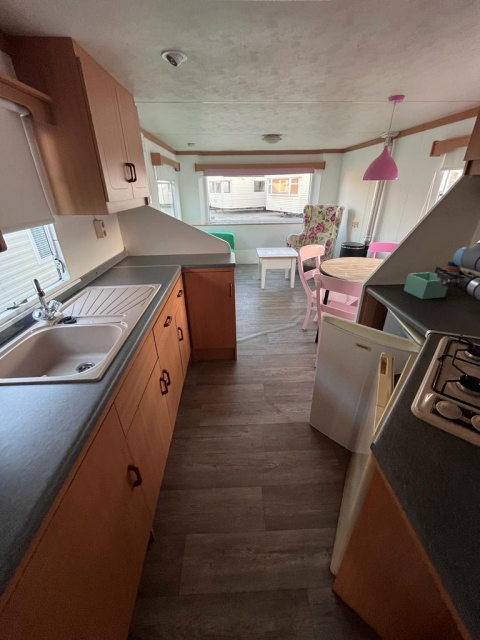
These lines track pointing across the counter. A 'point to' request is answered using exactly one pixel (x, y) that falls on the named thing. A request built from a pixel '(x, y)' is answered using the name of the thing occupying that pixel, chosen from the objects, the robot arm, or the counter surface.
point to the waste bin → (424, 285)
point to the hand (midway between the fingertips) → (444, 269)
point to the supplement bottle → (450, 268)
